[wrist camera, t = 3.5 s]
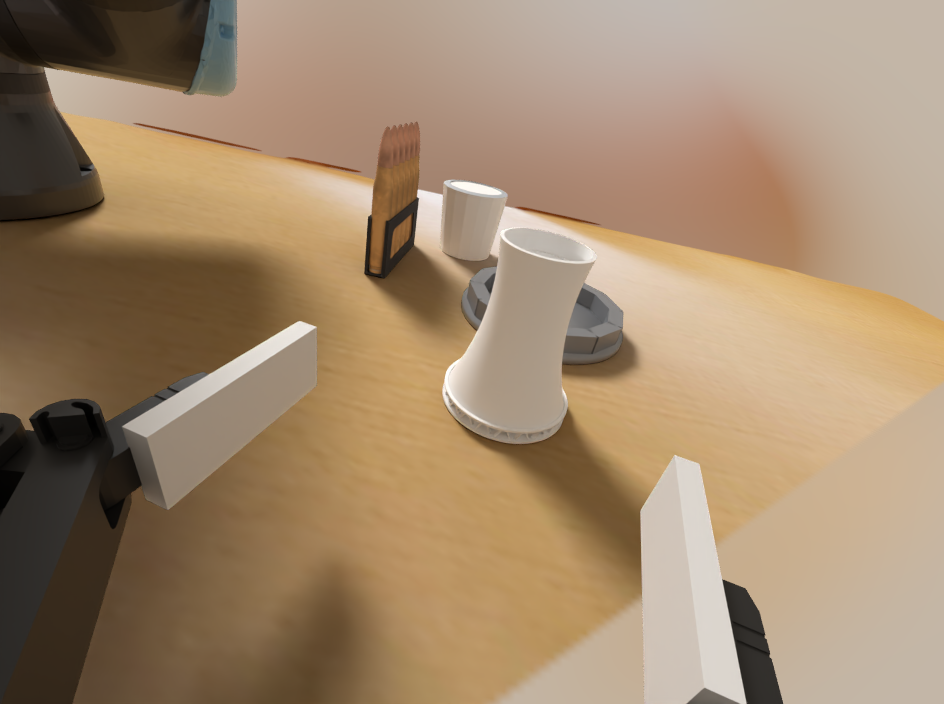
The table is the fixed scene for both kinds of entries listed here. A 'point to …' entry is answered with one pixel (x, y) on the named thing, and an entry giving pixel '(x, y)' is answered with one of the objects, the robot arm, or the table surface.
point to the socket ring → (589, 326)
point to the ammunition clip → (393, 200)
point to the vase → (521, 340)
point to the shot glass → (470, 218)
